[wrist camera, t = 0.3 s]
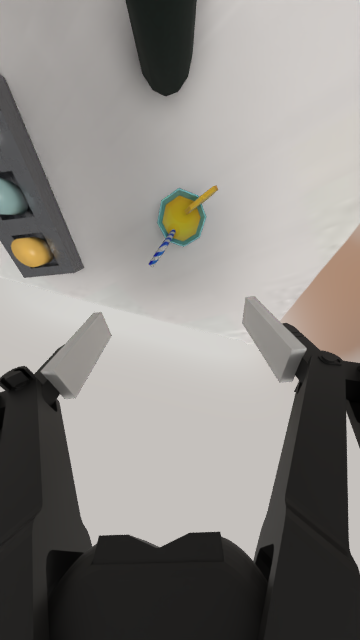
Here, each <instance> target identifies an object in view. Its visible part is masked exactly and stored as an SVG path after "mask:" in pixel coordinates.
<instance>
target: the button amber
mask: <svg viewBox="0 0 360 640" xmlns="http://www.w3.org/2000/svg"><path fill="white" fill-rule="evenodd" d="M11 249H12V252H13V254H14V256H15V257H16V258H17V259H18V260H19V261H20V262H21V263H23V264H24V265H26V266H29V267H37V266H40V265H43V264H46V263H49V262H51V261H52V259H53V253H52V251H51V249H50V247H49V245H48V244H47V243H46V242H45V241H44V240H42V239H40V238H38V237H29V238H20V239H15V240H14V241H13V242H12V244H11Z"/></svg>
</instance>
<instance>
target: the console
mask: <svg viewBox="0 0 360 640" xmlns="http://www.w3.org/2000/svg"><path fill="white" fill-rule="evenodd" d="M0 178H2V179H6V180H9V181H11V182H13V183H14V184H16V185H17V186H18V187H19V188H20V189H21V190H22V192H23V194H24V196H25V198H26V200H27V203H28V209H27V211H26V213H25V214H23V215H6V214H0V241H1V242H2V244H3V245H4V247H5V249H6V250H7V252H8V253H9V255H10V256H11V258H12V259H13V261H14V263H15V264H16V266H17V267H18V269H19V270H20V272H21V274H22V275H23V277H24V278H26V277H36V276H46V275H55V274H65V273H75V272H77V271H79V270H81V269H83V268H84V267H83V264H82V262H81V259H80V257H79V255H78V252H77V250H76V247H75V245H74V243H73V240H72V238H71V235H70V233H69V231H68V228H67V226H66V224H65V221H64V219H63V216H62V214H61V212H60V209H59V207H58V204H57V202H56V200H55V197H54V195H53V192H52V190H51V188H50V185H49V183H48V180H47V178H46V176H45V173H44V171H43V168H42V166H41V164H40V161H39V159H38V157H37V154H36V152H35V149H34V147H33V145H32V142H31V140H30V137H29V135H28V133H27V130H26V128H25V125H24V123H23V121H22V118H21V116H20V113H19V111H18V109H17V106H16V104H15V101H14V99H13V97H12V94H11V92H10V90H9V87H8V85H7V82H6V80H5V78H4V77H3V76H1V75H0ZM29 237H38V238H40V239H42V240H44V241H45V242H46V243H47V244H48V245H49V247H50V249H51V251H52V253H53V259H52V261H51V262H49V263H46V264H43V265H40V266H37V267H29V266H26V265H24V264H23V263H21V262H20V261H19V260H18V259H17V258H16V257H15V256H14V254H13V252H12V249H11V244H12V242H13V241H14V240H15V239H20V238H29Z"/></svg>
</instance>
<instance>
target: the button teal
mask: <svg viewBox="0 0 360 640" xmlns="http://www.w3.org/2000/svg"><path fill="white" fill-rule="evenodd" d="M27 209H28V203H27V200H26V198H25V196H24V194H23V192H22V190H21V189H20V188H19V187H18V186H17V185H16V184H14V183H13V182H11V181H9V180H6V179H2V178H0V214H6V215H23V214H25V213H26V211H27Z"/></svg>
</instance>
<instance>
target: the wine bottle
mask: <svg viewBox="0 0 360 640" xmlns="http://www.w3.org/2000/svg"><path fill="white" fill-rule="evenodd" d="M196 2H197V0H126V5H127V9H128V13H129V18H130V22H131V26H132V30H133V35H134V39H135V43H136V48H137V52H138V56H139V61H140V65H141V69H142V74H143V75H144V77H145V78H146V80H147V82H148V83H149V85H150V86H151V88H152V90H154V91H156V92H158V93H160V94H162V95H164V96H168V95H170V94H173V93H176V92H178V91H179V89H180V88H181V86H182V85H183V83H184V82H185V80H186V79H187V77H188V74H189V69H190V63H191V58H192V52H193V40H194V27H195V15H196Z"/></svg>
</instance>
